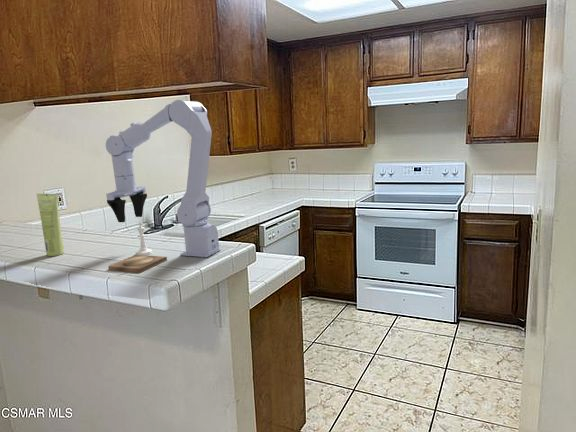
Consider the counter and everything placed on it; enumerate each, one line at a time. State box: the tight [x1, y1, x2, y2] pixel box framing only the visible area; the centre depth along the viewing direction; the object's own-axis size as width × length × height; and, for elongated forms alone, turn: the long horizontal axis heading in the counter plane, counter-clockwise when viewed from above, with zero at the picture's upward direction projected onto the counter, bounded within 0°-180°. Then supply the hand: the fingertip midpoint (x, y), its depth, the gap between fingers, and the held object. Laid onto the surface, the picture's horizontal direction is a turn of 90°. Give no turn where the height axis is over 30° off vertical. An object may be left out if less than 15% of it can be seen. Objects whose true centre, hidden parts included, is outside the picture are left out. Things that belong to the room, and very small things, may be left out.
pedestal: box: [107, 254, 168, 274], centre depth 122 cm, size 11×11×1 cm
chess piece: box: [135, 221, 153, 256], centre depth 133 cm, size 5×5×10 cm
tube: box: [36, 193, 65, 257], centre depth 137 cm, size 6×5×20 cm
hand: (130, 219), depth 136 cm, fingers open, 7 cm apart
